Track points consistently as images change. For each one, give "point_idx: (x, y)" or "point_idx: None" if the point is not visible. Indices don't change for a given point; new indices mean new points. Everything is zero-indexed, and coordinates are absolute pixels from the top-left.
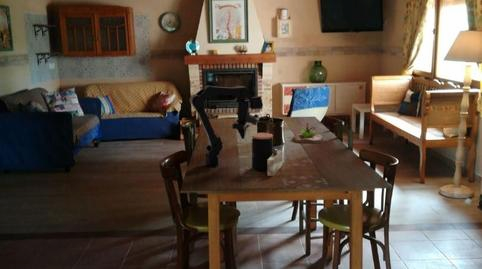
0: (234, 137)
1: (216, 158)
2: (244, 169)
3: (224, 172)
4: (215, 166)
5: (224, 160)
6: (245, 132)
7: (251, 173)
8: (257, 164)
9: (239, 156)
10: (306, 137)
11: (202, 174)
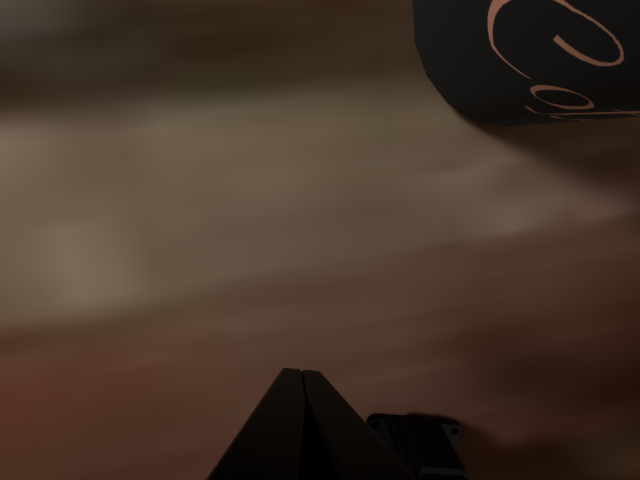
0: None
1: (466, 476)
2: (515, 193)
3: (587, 334)
4: (460, 427)
5: None
6: (274, 476)
7: None
8: None
9: (89, 307)
10: None
11: (619, 457)
